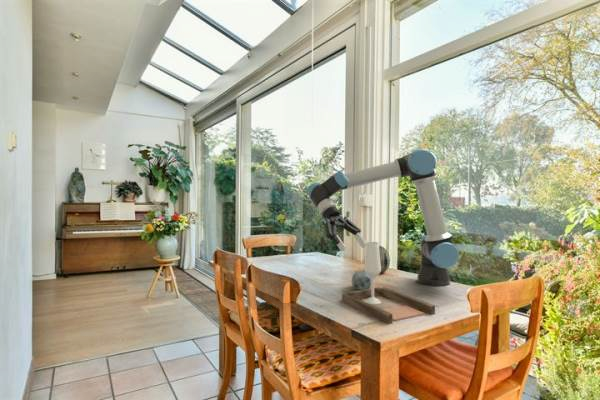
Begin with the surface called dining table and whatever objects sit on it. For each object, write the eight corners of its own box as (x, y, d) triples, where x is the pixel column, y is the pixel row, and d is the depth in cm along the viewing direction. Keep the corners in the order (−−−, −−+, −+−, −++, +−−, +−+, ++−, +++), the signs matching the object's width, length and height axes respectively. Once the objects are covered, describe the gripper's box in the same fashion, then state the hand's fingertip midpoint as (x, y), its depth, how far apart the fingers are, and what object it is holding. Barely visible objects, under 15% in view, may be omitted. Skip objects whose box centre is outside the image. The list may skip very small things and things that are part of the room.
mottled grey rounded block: (375, 287, 153) (365, 265, 156) (356, 296, 154) (345, 275, 157) (376, 286, 166) (367, 267, 169) (358, 295, 167) (349, 275, 170)
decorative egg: (363, 272, 197) (363, 245, 197) (380, 269, 202) (380, 243, 201) (376, 276, 186) (376, 248, 186) (394, 274, 191) (394, 246, 191)
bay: (382, 293, 155) (382, 286, 155) (434, 313, 129) (434, 305, 129) (340, 300, 145) (340, 293, 145) (387, 323, 119) (387, 315, 119)
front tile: (405, 306, 137) (405, 305, 137) (424, 314, 128) (424, 313, 128) (376, 312, 130) (376, 310, 130) (394, 320, 122) (394, 319, 122)
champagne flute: (363, 298, 147) (363, 241, 146) (379, 299, 147) (379, 241, 146) (365, 304, 140) (365, 243, 140) (382, 304, 140) (382, 243, 140)
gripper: (342, 215, 171) (367, 249, 160) (304, 217, 154) (329, 256, 143) (351, 204, 167) (377, 239, 156) (312, 206, 150) (339, 245, 139)
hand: (354, 247), depth 149 cm, fingers open, 13 cm apart
